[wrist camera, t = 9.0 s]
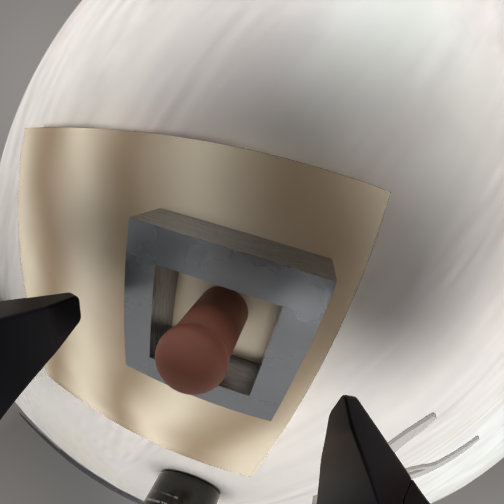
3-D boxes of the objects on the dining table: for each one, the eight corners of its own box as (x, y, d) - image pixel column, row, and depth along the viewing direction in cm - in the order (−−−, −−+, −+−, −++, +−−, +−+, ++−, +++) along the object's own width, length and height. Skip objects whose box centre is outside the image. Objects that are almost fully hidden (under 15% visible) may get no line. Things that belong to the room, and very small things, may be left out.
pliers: (482, 446, 11) (355, 513, 16) (478, 434, 12) (356, 502, 17) (434, 425, 11) (284, 499, 16) (429, 407, 12) (286, 486, 17)
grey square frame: (147, 341, 12) (125, 364, 10) (160, 207, 10) (129, 217, 8) (277, 388, 11) (270, 421, 9) (332, 259, 9) (337, 281, 7)
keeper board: (57, 366, 18) (19, 400, 13) (42, 128, 12) (-31, 130, 6) (254, 461, 16) (237, 522, 10) (379, 188, 9) (452, 210, 4)
